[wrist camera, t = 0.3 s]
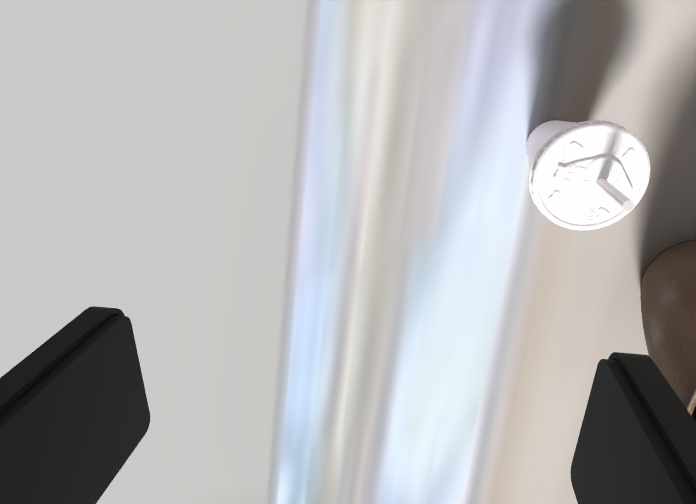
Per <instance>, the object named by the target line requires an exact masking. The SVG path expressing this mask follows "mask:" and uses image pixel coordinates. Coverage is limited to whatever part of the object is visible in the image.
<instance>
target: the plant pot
mask: <svg viewBox="0 0 696 504" xmlns="http://www.w3.org/2000/svg"><path fill="white" fill-rule="evenodd" d="M641 311H642V321H643V328H644V334H645V340H646V344H647V349H648V354H649V357H650V358H651V359H652V360H653V361H654V363H655V364H656V365H657V367H658V368H659V370H660V371H661V373H662V374H663V376H664V377H665V378H666V380H667V381H668V383H669V384H670V386H671V387H672V389H673V390H674V391H675V393H676V394H677V396H678V397H679V399H680V400H681V401H682V403H683V404H684V406H685V407H686V409H687V410H688V412H689V413H690V414H691V416H692V417H693V419H694V420H695V422H696V240H692V241H687V242H683V243H680V244H677V245H675V246H673V247H670V248H669V249H667V250H665V251H664V252H662V253H661V254H660V255H658V256H657V257H656V258H655V259H654V260H653V261H652V263H651V264H650V265H649V266H648V268H647V269H646V271H645V273H644V275H643V278H642V282H641Z"/></svg>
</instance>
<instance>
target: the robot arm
mask: <svg viewBox="0 0 696 504" xmlns="http://www.w3.org/2000/svg"><path fill="white" fill-rule="evenodd" d="M149 423H150V412H149V408H148V403H147V398H146V393H145V388H144V383H143V378H142V373H141V368H140V363H139V359H138V354H137V349H136V344H135V339H134V334H133V329H132V324H131V321H130V319H129V318H128V317H126V316H124V313H123V312H122V311H121V310H120V309H117V308H105V307H89V308H88V309H86V310H85V311H83V312H82V313H81V314H80V315H79V316H77V317H76V318H75V319H74V320H72V321H71V322H70V323H68V324H67V325H66V326H65V327H63V328H62V329H61V330H60V331H59V332H58V333H56V334H55V335H54V336H52V337H51V338H50V339H49V340H47V341H46V342H45V343H44V344H42V345H41V346H40V347H39V348H37V349H36V350H35V351H34V352H32V353H31V354H30V355H29V356H27V357H26V358H25V359H24V360H22V361H21V362H20V363H19V364H17V365H16V366H15V367H14V368H12V369H11V370H10V371H9V372H7V373H6V374H5V375H4V376H2V377H1V378H0V504H96V503H97V501H98V500H99V498H100V497H101V496H102V494H103V493H104V491H105V490H106V489H107V487H108V486H109V484H110V483H111V481H112V480H113V479H114V477H115V476H116V474H117V473H118V472H119V470H120V469H121V467H122V466H123V465H124V463H125V462H126V460H127V459H128V457H129V456H130V455H131V453H132V452H133V451H134V449H135V448H136V446H137V445H138V443H139V442H140V441H141V439H142V438H143V436H144V435H145V433H146V432H147V430H148V427H149ZM571 481H572V486H573V489H574V492H575V495H576V499H577V502H578V504H696V422H695V420H694V419H693V417H692V416H691V414H690V413H689V412H688V410H687V409H686V407H685V406H684V404H683V403H682V401H681V400H680V399H679V397H678V396H677V394H676V393H675V391H674V390H673V389H672V387H671V386H670V384H669V383H668V381H667V380H666V378H665V377H664V376H663V374H662V373H661V371H660V370H659V368H658V367H657V365H656V364H655V363H654V361H653V360H652V359H651V358H650V357H649V356H647V355H640V354H629V353H617V352H614V353H612V354H611V355H610V356H609V359H608V360H607V359H602V360H600V361H599V363H598V366H597V370H596V373H595V377H594V381H593V385H592V389H591V392H590V396H589V400H588V404H587V408H586V411H585V415H584V419H583V423H582V427H581V430H580V434H579V438H578V442H577V446H576V450H575V453H574V457H573V461H572V465H571Z"/></svg>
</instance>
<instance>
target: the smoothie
mask: <svg viewBox="0 0 696 504" xmlns="http://www.w3.org/2000/svg"><path fill="white" fill-rule="evenodd" d="M526 153H527V157H528V161H529V166H530V174H529V190H530V193H531V196H532V198H533V201H534V203H535V204H536V206H537V207H538V208H539V210H540V211H541V212H542V213H543V214H544V215H545V216H546V217H547V218H548V219H550V220H551V221H552V222H554V223H556V224H557V225H559V226H562V227H565V228H568V229H573V230H593V229H598V228H602V227H605V226H608V225H610V224H612V223H614V222H616V221H618V220H620V219H621V218H623V217H624V216H625V215H627V214H628V213H629V212H630V211H631V210H633V209H634V207H635V206H636V205H637V204H638V202H639V201H640V200H641V198H642V196H643V195H644V193H645V191H646V188H647V185H648V182H649V178H650V160H649V156H648V153H647V151H646V149H645V147H644V145H643V144H642V142H641V141H640V140H639V139H638V138H637V137H636V136H635V135H634V134H632V133H631V132H629V131H628V130H627V129H625V128H624V127H622V126H620V125H617V124H615V123H612V122H610V121H600V120H590V121H583V122H577V123H575V122H567V121H559V120H552V121H547V122H544V123H542V124H540V125H539V126H537V127H536V128H535V129H534V130H533V131H532V132H531V134H530V135H529V137H528V140H527V143H526Z"/></svg>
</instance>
